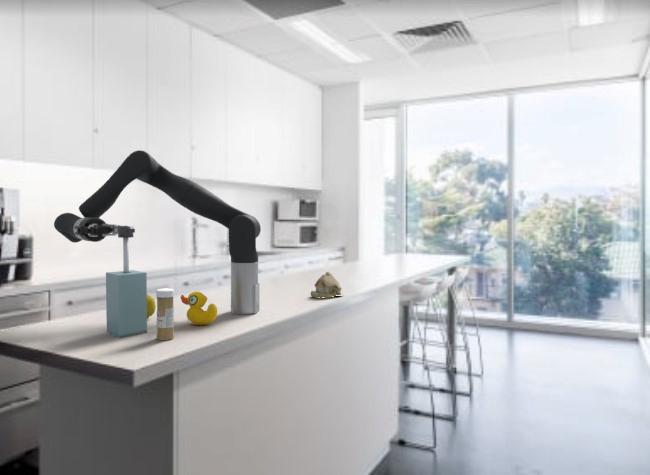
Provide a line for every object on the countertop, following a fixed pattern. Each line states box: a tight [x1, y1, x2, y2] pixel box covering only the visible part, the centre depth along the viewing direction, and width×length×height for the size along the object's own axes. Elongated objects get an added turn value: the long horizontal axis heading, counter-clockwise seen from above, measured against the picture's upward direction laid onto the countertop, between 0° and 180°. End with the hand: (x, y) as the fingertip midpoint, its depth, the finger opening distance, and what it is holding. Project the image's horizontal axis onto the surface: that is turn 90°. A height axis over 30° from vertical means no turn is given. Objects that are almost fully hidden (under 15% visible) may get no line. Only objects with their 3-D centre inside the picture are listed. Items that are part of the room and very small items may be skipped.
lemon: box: [147, 293, 157, 320], centre depth 157 cm, size 6×6×8 cm
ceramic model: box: [310, 271, 342, 299], centre depth 202 cm, size 14×11×10 cm
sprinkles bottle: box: [155, 287, 175, 341], centre depth 134 cm, size 5×5×14 cm
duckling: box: [180, 291, 218, 326], centre depth 151 cm, size 11×5×10 cm, turn 82°
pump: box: [117, 225, 136, 273], centre depth 138 cm, size 6×4×14 cm, turn 46°
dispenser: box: [105, 269, 148, 338], centre depth 140 cm, size 8×8×17 cm
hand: (112, 231), depth 145 cm, fingers open, 8 cm apart
